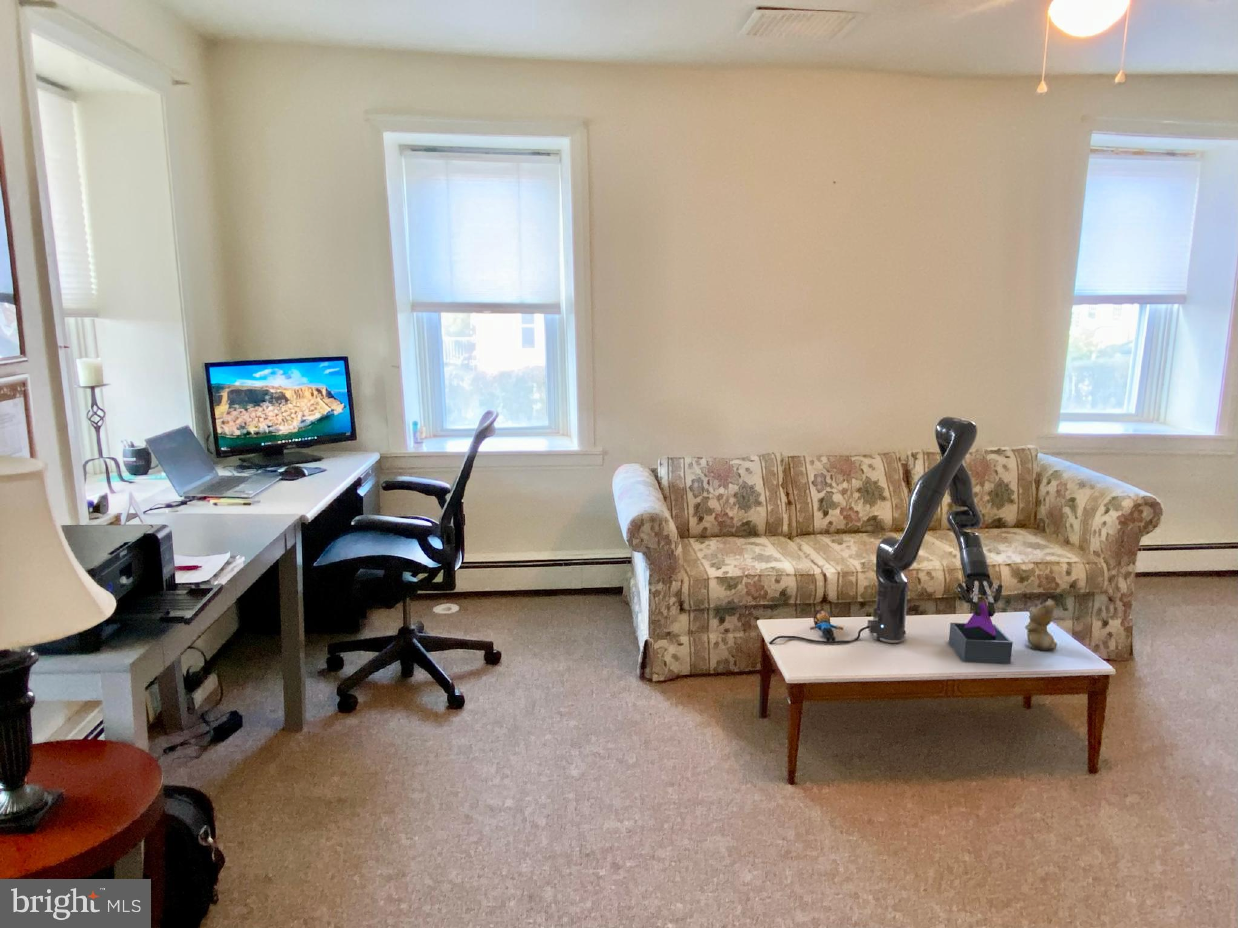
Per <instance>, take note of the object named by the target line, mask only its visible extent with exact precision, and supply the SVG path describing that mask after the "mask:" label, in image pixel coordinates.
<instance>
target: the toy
mask: <svg viewBox="0 0 1238 928" xmlns="http://www.w3.org/2000/svg"><path fill="white" fill-rule="evenodd" d="M812 619H813V626H809V631H813V630H817V629H818V630H821V634H822V636H823V637H824V638H825V641H836V636H835V634H834V630H833V629H835V630H838V631H844V627H843V626H840V625H834V624H832V623H831V616H830V614H829V612H828V611H827V610H825V609H816V610H815V611H814V613H813V618H812ZM830 639H831V640H830Z"/></svg>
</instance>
